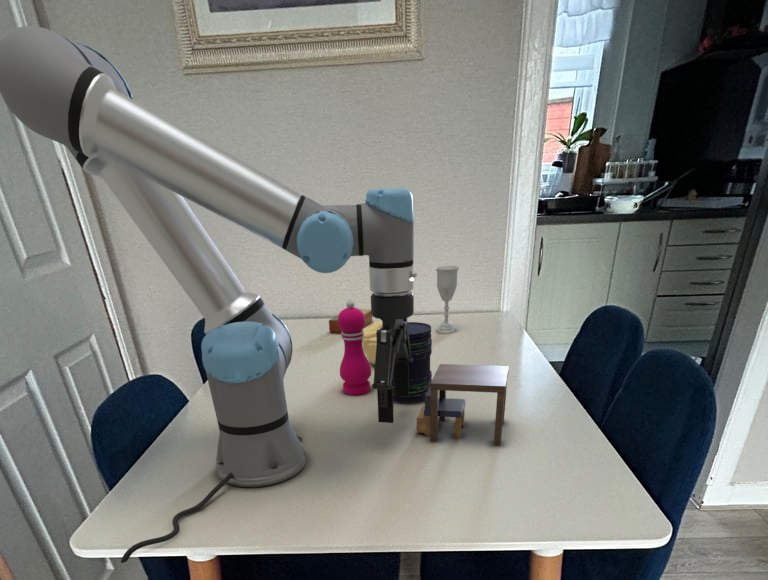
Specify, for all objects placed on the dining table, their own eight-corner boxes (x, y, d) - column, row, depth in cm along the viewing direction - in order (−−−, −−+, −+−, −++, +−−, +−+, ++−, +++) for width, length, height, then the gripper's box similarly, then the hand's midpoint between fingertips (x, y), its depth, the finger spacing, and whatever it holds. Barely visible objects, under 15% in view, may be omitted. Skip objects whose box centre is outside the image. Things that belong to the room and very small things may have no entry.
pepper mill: (368, 396, 122) (362, 303, 111) (337, 395, 123) (328, 304, 112) (375, 385, 128) (370, 296, 117) (345, 384, 129) (338, 296, 118)
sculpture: (359, 369, 138) (356, 326, 132) (371, 355, 148) (369, 314, 142) (402, 370, 136) (401, 327, 130) (412, 356, 145) (411, 315, 140)
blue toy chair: (416, 434, 103) (416, 395, 99) (422, 421, 108) (422, 383, 104) (460, 437, 101) (461, 397, 97) (464, 424, 107) (466, 385, 102)
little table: (500, 445, 98) (505, 386, 92) (430, 441, 101) (430, 383, 95) (504, 421, 107) (508, 366, 101) (439, 418, 110) (439, 363, 103)
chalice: (431, 329, 168) (431, 267, 159) (451, 326, 170) (452, 264, 160) (440, 335, 162) (441, 270, 153) (461, 332, 164) (463, 268, 154)
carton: (373, 322, 180) (372, 308, 177) (353, 334, 167) (352, 320, 165) (350, 320, 182) (349, 307, 180) (329, 333, 170) (327, 319, 168)
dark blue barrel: (435, 389, 123) (436, 322, 115) (427, 405, 116) (426, 334, 107) (394, 387, 126) (391, 321, 118) (382, 402, 118) (379, 333, 110)
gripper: (396, 308, 82) (399, 436, 94) (426, 279, 102) (425, 387, 114) (349, 307, 84) (357, 432, 95) (388, 279, 104) (390, 385, 116)
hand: (394, 408), depth 105 cm, fingers open, 13 cm apart
